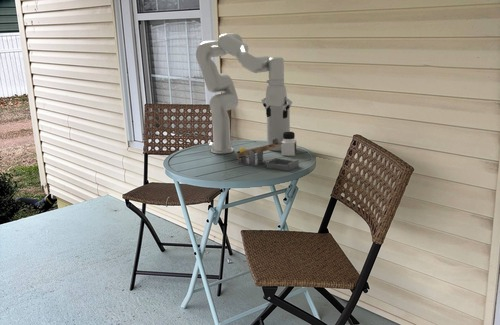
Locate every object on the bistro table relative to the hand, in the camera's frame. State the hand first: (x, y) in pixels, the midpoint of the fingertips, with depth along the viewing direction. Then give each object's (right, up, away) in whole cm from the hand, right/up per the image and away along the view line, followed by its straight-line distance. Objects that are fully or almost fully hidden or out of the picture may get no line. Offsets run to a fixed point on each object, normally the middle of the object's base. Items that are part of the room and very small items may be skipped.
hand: (276, 117), depth 256 cm
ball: (-17, -17, +3) cm, 24 cm away
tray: (+2, -25, -7) cm, 26 cm away
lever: (-8, -17, +3) cm, 19 cm away
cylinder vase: (+3, -15, +29) cm, 33 cm away
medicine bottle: (+7, -18, +17) cm, 26 cm away
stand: (-13, -23, +3) cm, 26 cm away
